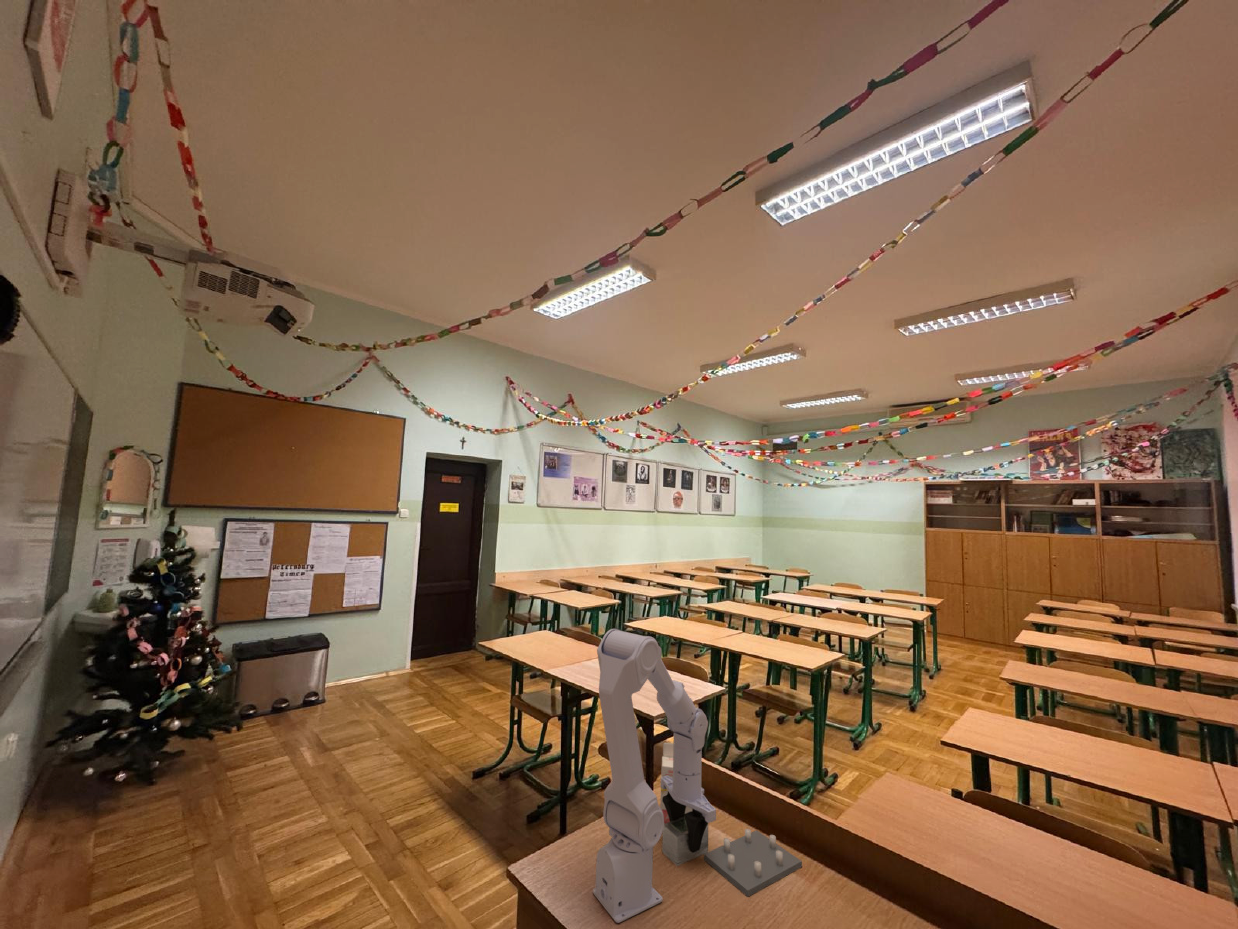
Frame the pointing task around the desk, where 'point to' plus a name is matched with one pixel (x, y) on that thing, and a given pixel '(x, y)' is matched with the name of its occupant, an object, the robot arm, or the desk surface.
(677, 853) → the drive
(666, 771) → the ink cartridge box
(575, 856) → the desk surface
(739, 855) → the pin tray
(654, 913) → the desk surface
